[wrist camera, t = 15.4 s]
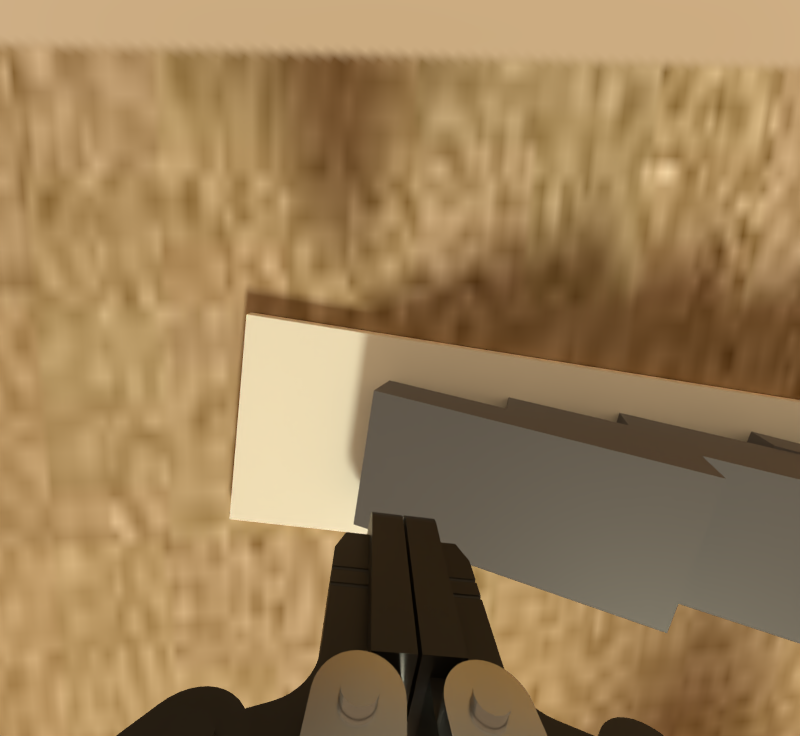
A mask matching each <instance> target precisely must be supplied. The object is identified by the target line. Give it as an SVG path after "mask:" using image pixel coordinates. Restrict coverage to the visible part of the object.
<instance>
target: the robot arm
mask: <svg viewBox="0 0 800 736" xmlns="http://www.w3.org/2000/svg"><path fill="white" fill-rule="evenodd" d="M117 736H593V735H591V734H588V733H586V732H584V731H581V730H579V729H576V728H574V727H571V726H569V725H567V724H564V723H562V722H559V721H557V720H555V719H553V718H551V717H549V716H547V715H545V714H543V713H542V712H540V711H539V710H537V709H536V708H535V706H534V704H533V702H532V700H531V698H530V696H529V694H528V693H527V691H526V690H525V688H524V687H523V686H522V685H521V683H520V682H519V681H518V680H517V679H516V678H515V677H514V676H513V675H512V674H510V673H509V672H508V671H506V670H505V669H504V667H503V664H502V661H501V658H500V655H499V652H498V649H497V646H496V642H495V639H494V636H493V633H492V630H491V627H490V624H489V621H488V618H487V614H486V611H485V608H484V605H483V602H482V600H480V593H479V590H478V586H477V583H475V577H474V574H473V571H472V568H471V565H470V562H469V560H468V559H467V557H466V556H465V555H464V554H463V553H462V551H461V550H460V549H459V548H458V546H457V545H456V544H452V543H442V542H441V541H440V537H439V533H438V528H437V524H436V521H435V519H432V518H423V517H414V516H406V515H404V516H402V515H396V514H387V513H379V512H371V515H370V520H369V526H368V532H367V534H359V533H350V532H346V533H345V535H344V536H343V537H342V539H341V540H340V541H339V542H338V544H337V545H336V546H335V551H334V557H333V564H332V570H331V577H330V583H329V590H328V596H327V603H326V610H325V617H324V623H323V630H322V637H321V645H320V651H319V658H318V661H317V664H316V666H315V668H314V670H313V672H312V673H311V675H310V676H309V677H308V678H307V680H306V681H305V682H304V683H303V684H302V685H301V686H299V687H298V688H297V689H296V690H294V691H293V692H291V693H290V694H288V695H286V696H284V697H282V698H279V699H277V700H274V701H271V702H267V703H264V704H260V705H257V706H253V707H249V708H246V709H245V708H244V706H243V705H242V703H241V702H240V700H239V699H238V698H237V697H235V696H234V695H233V694H232V693H230V692H228V691H227V690H224V689H221V688H218V687H210V686H205V687H196V688H191V689H187V690H184V691H182V692H179V693H177V694H175V695H173V696H171V697H169V698H167V699H166V700H164V701H163V702H161V703H160V704H158V705H157V706H156V707H154V708H153V709H152V710H150V711H149V712H148V713H146V714H145V715H144V716H142V717H141V718H140V719H138V720H137V721H135V722H134V723H133V724H131V725H130V726H129V727H127V728H126V729H125V730H123V731H122V732H121V733H119V734H118V735H117ZM598 736H663V735H662V734H661V733H660V732H658V731H656V730H655V729H653V728H652V727H650V726H648V725H646V724H644V723H642V722H639V721H637V720H634V719H630V718H621V717H617V718H613V719H610V720H608V721H607V722H605V723H604V725H603V726H602V727H601V729H600V732H599V734H598Z"/></svg>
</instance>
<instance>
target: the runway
mask: <svg viewBox="0 0 800 736" xmlns="http://www.w3.org/2000/svg"><path fill="white" fill-rule="evenodd" d="M389 380H390V381H394V382H398V383H402V384H407V385H411V386H415V387H419V388H423V389H427V390H431V391H436V392H440V393H444V394H448V395H452V396H456V397H460V398H465V399H469V400H473V401H477V402H481V403H485V404H489V405H494V406H498V407H502V408H506V407H507V402H508V398H509V397H510V398H514V399H519V400H523V401H527V402H531V403H536V404H540V405H544V406H548V407H553V408H557V409H561V410H566V411H570V412H574V413H578V414H583V415H587V416H591V417H595V418H600V419H604V420H608V421H613V422H617V419H618V416H619V413H623V414H627V415H631V416H636V417H640V418H644V419H649V420H653V421H657V422H662V423H666V424H670V425H675V426H679V427H683V428H688V429H692V430H696V431H701V432H705V433H709V434H714V435H718V436H722V437H727V438H731V439H735V440H740V441H744V442H747V440H748V438H749V436H750V433H751V432H755V433H759V434H763V435H767V436H771V437H775V438H779V439H783V440H787V441H791V442H795V443H799V444H800V400H797V399H790V398H784V397H778V396H772V395H765V394H759V393H753V392H747V391H740V390H734V389H728V388H722V387H715V386H709V385H703V384H697V383H690V382H684V381H678V380H671V379H665V378H659V377H653V376H646V375H640V374H634V373H628V372H621V371H615V370H609V369H603V368H596V367H590V366H584V365H578V364H571V363H565V362H559V361H553V360H546V359H540V358H534V357H528V356H521V355H515V354H509V353H503V352H496V351H490V350H484V349H477V348H471V347H465V346H459V345H452V344H446V343H440V342H434V341H427V340H421V339H415V338H409V337H402V336H396V335H390V334H384V333H377V332H371V331H365V330H359V329H352V328H346V327H340V326H334V325H327V324H321V323H315V322H308V321H302V320H296V319H290V318H283V317H277V316H271V315H265V314H258V313H249V314H247V315H246V327H245V339H244V351H243V363H242V375H241V387H240V399H239V412H238V424H237V436H236V448H235V460H234V472H233V484H232V496H231V508H230V519H233V520H242V521H251V522H260V523H269V524H279V525H288V526H297V527H306V528H315V529H324V530H333V531H342V532H351V533H360V534H367V532H368V529H366V528H363V527H360V526H357V525H354V517H355V511H356V504H357V497H358V491H359V484H360V478H361V471H362V465H363V458H364V452H365V445H366V439H367V432H368V426H369V419H370V413H371V406H372V399H373V393H374V390H375V389H377V388H378V387H380V386H382V385H383V384H385V383H386V382H388V381H389Z"/></svg>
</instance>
